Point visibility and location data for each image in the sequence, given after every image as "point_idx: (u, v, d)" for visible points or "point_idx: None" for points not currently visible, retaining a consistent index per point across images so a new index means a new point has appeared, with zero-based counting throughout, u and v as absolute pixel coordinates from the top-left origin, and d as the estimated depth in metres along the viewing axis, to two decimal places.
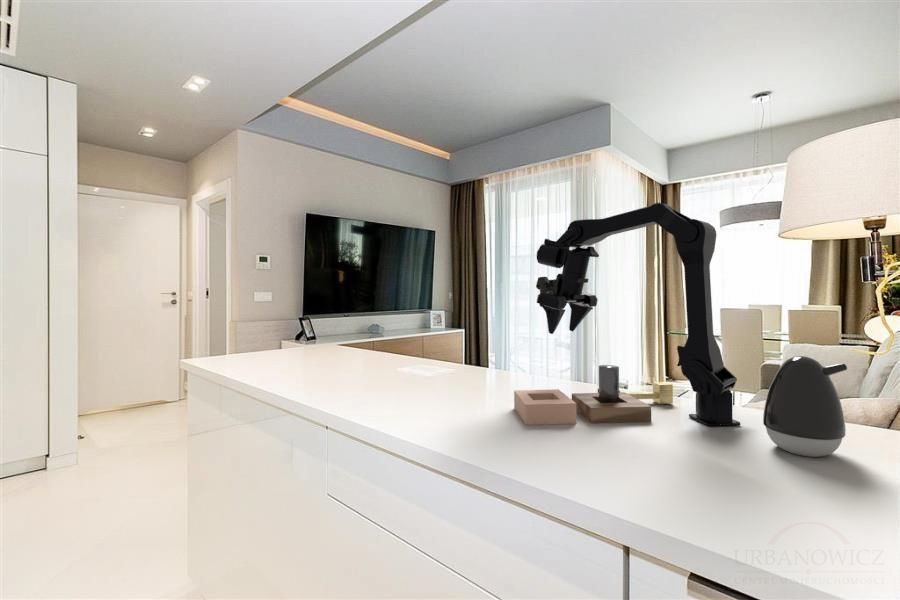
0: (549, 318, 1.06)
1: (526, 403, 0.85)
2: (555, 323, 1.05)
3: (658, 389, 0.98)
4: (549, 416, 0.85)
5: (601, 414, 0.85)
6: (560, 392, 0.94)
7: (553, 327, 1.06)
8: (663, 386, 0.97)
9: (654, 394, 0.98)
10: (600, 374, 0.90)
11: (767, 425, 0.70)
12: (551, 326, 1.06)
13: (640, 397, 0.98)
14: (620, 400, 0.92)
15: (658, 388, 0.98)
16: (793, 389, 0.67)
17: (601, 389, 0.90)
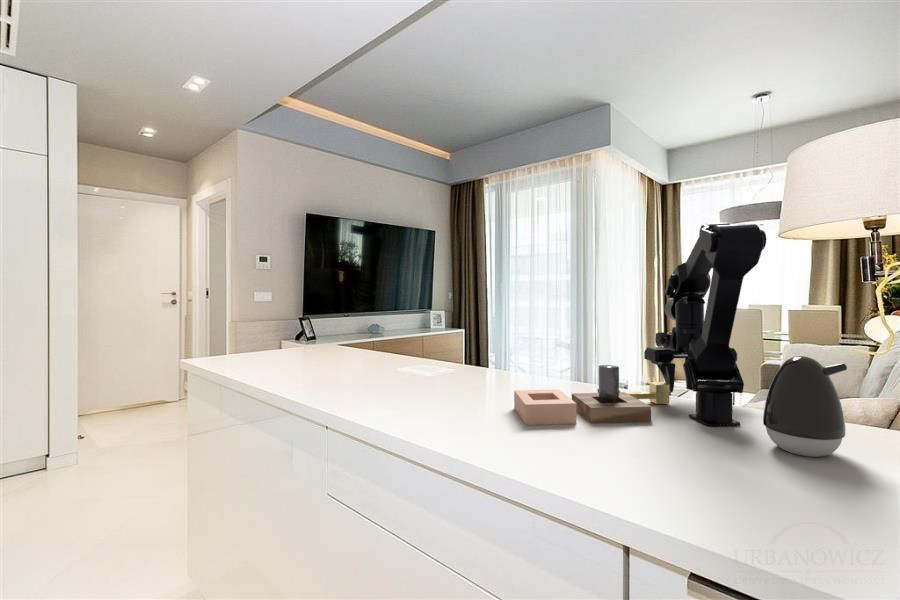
0: (664, 375, 0.99)
1: (526, 403, 0.85)
2: (669, 379, 0.98)
3: (654, 389, 0.98)
4: (549, 416, 0.85)
5: (601, 414, 0.85)
6: (560, 392, 0.94)
7: (669, 384, 0.98)
8: (660, 386, 0.97)
9: (651, 394, 0.98)
10: (600, 374, 0.90)
11: (767, 425, 0.70)
12: (667, 383, 0.99)
13: (637, 397, 0.98)
14: (620, 400, 0.92)
15: (655, 388, 0.98)
16: (793, 389, 0.67)
17: (601, 389, 0.90)
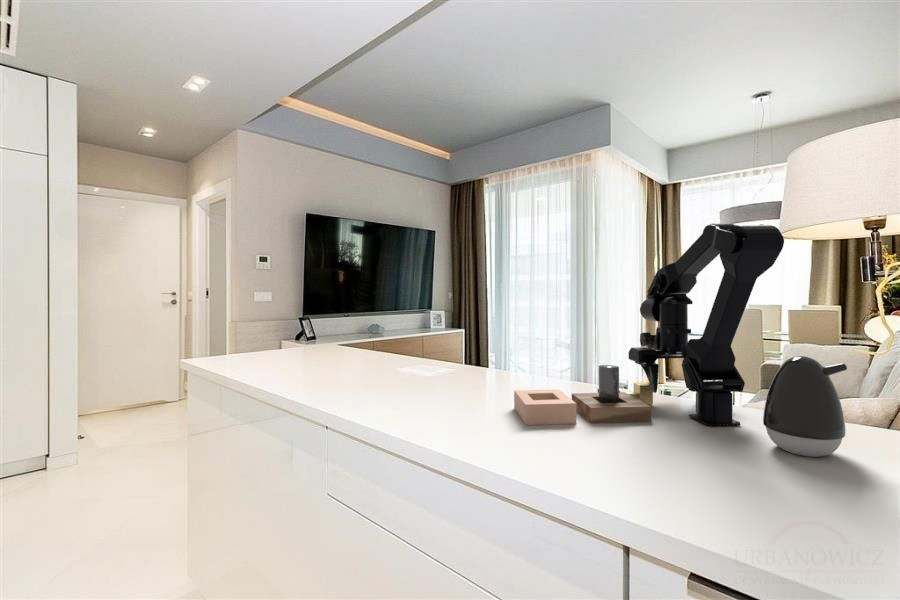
0: (648, 375, 0.99)
1: (526, 403, 0.85)
2: (652, 380, 0.97)
3: (638, 389, 0.98)
4: (549, 416, 0.85)
5: (601, 414, 0.85)
6: (560, 392, 0.94)
7: (653, 384, 0.98)
8: (643, 386, 0.97)
9: (634, 394, 0.98)
10: (600, 374, 0.90)
11: (767, 425, 0.70)
12: (651, 384, 0.98)
13: None
14: (620, 400, 0.92)
15: (639, 389, 0.97)
16: (793, 389, 0.67)
17: (601, 389, 0.90)
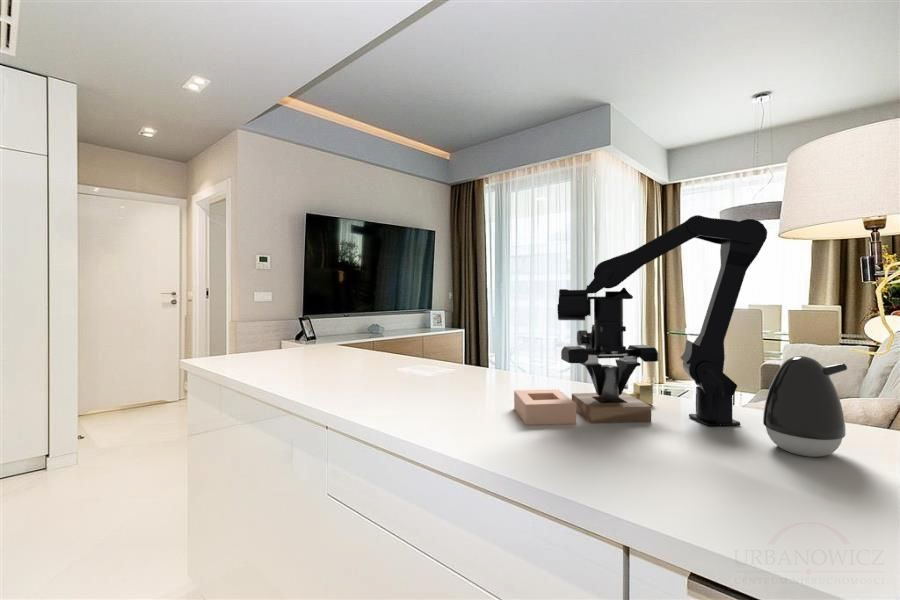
0: (592, 376, 0.91)
1: (526, 403, 0.85)
2: (596, 381, 0.89)
3: (638, 389, 0.98)
4: (549, 416, 0.85)
5: (601, 414, 0.85)
6: (560, 392, 0.94)
7: (596, 386, 0.90)
8: (643, 386, 0.97)
9: (634, 394, 0.98)
10: None
11: (767, 425, 0.70)
12: (595, 386, 0.91)
13: None
14: (620, 400, 0.92)
15: (638, 389, 0.97)
16: (794, 389, 0.67)
17: (601, 389, 0.90)
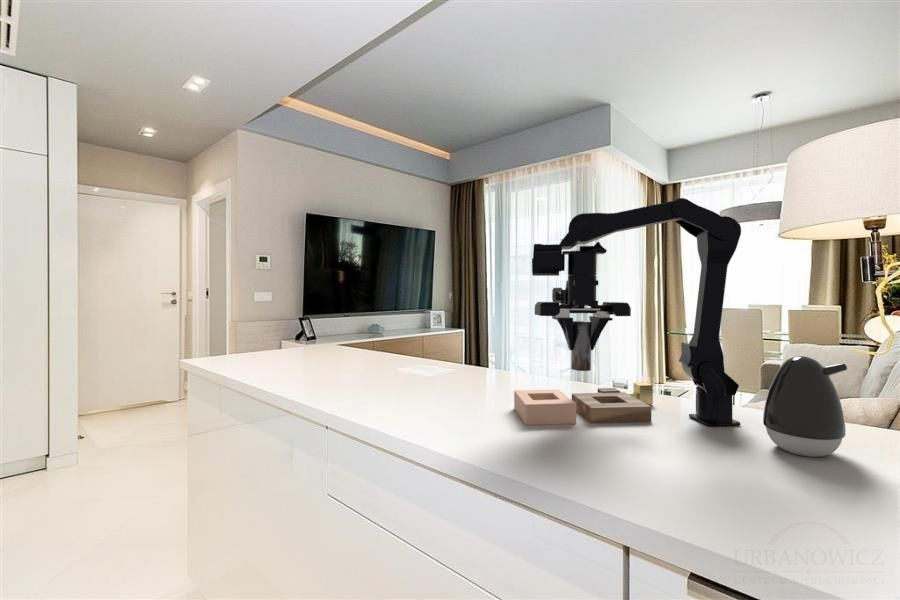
0: (564, 331, 0.91)
1: (526, 403, 0.85)
2: (567, 336, 0.89)
3: (638, 389, 0.98)
4: (549, 416, 0.85)
5: (601, 414, 0.85)
6: (560, 392, 0.94)
7: (568, 341, 0.90)
8: (643, 386, 0.97)
9: (634, 394, 0.98)
10: None
11: (767, 425, 0.70)
12: (567, 340, 0.90)
13: None
14: (620, 400, 0.92)
15: (638, 389, 0.97)
16: (794, 389, 0.67)
17: (574, 343, 0.90)
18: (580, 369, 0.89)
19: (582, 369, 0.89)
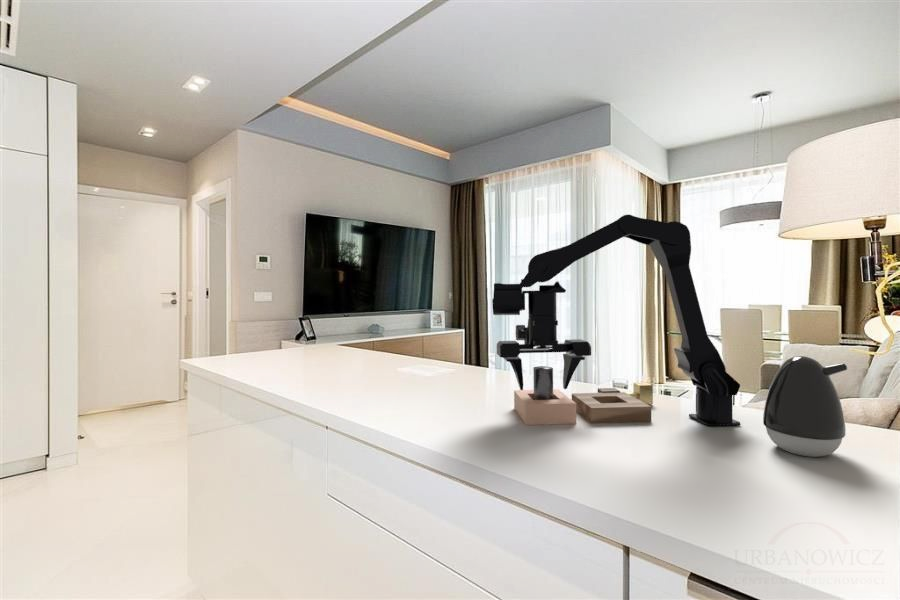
0: (515, 371, 0.91)
1: (526, 403, 0.85)
2: (517, 376, 0.89)
3: (638, 389, 0.98)
4: (549, 416, 0.85)
5: (601, 414, 0.85)
6: (560, 392, 0.94)
7: (518, 381, 0.89)
8: (643, 386, 0.97)
9: (634, 394, 0.98)
10: (534, 376, 0.90)
11: (767, 425, 0.70)
12: (517, 380, 0.90)
13: None
14: (620, 400, 0.92)
15: (638, 389, 0.97)
16: (794, 389, 0.67)
17: (535, 390, 0.90)
18: None
19: None
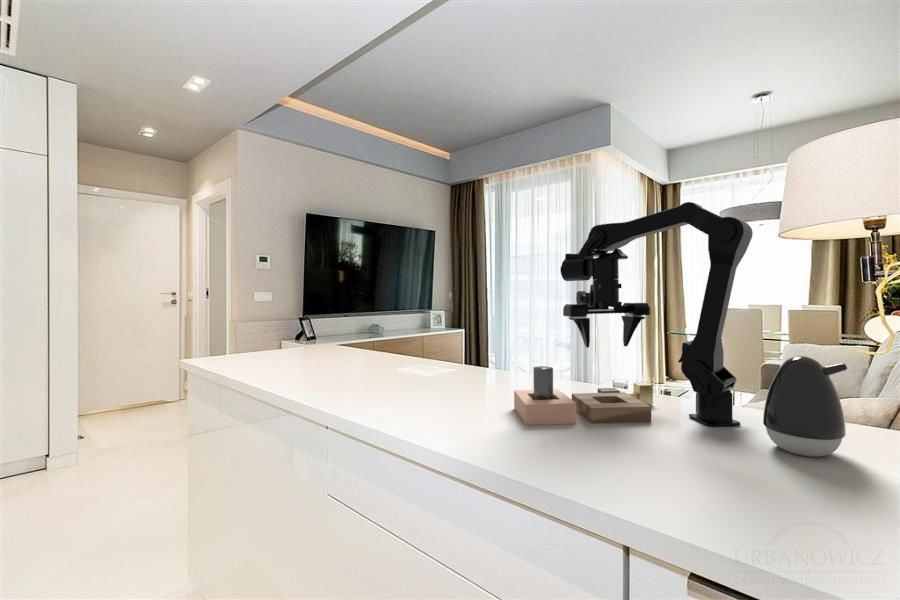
0: (581, 330, 1.01)
1: (526, 403, 0.85)
2: (584, 334, 0.99)
3: (638, 389, 0.98)
4: (549, 416, 0.85)
5: (601, 414, 0.85)
6: (560, 392, 0.94)
7: (585, 339, 0.99)
8: (643, 386, 0.97)
9: (634, 394, 0.98)
10: (534, 375, 0.90)
11: (767, 425, 0.70)
12: (584, 339, 1.00)
13: None
14: (620, 400, 0.92)
15: (638, 389, 0.97)
16: (793, 389, 0.67)
17: (535, 390, 0.90)
18: None
19: None
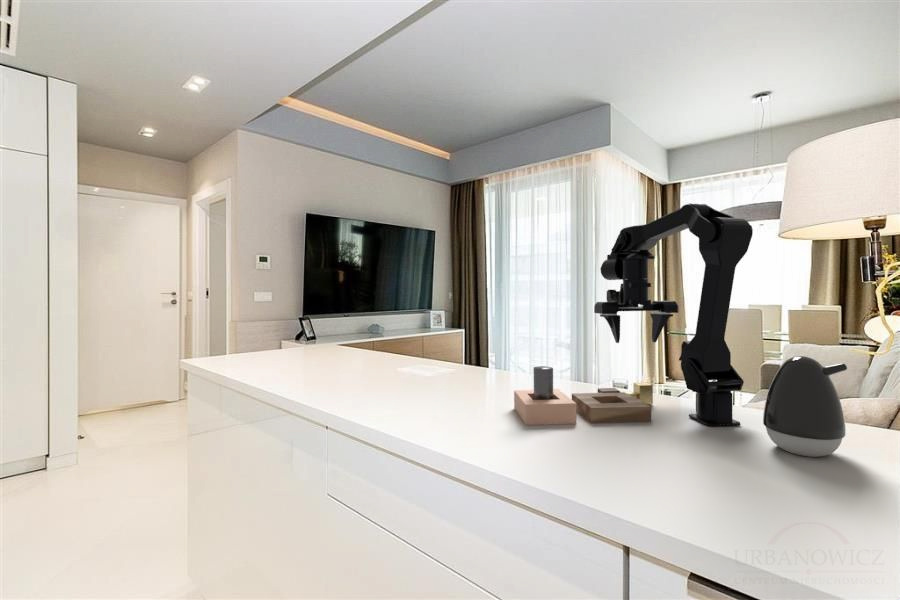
0: (611, 327, 1.06)
1: (526, 403, 0.85)
2: (615, 330, 1.05)
3: (638, 389, 0.98)
4: (549, 416, 0.85)
5: (601, 414, 0.85)
6: (560, 392, 0.94)
7: (615, 335, 1.05)
8: (643, 386, 0.97)
9: (634, 394, 0.98)
10: (534, 375, 0.90)
11: (767, 425, 0.70)
12: (614, 335, 1.06)
13: None
14: (620, 400, 0.92)
15: (638, 389, 0.97)
16: (793, 389, 0.67)
17: (535, 390, 0.90)
18: None
19: None
